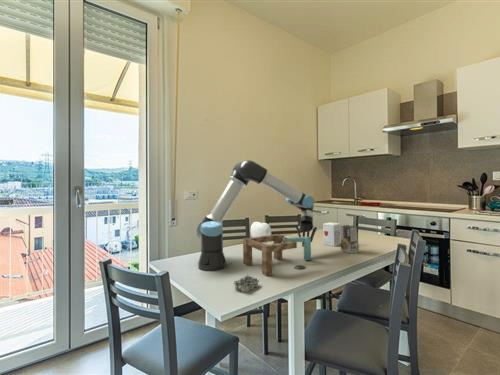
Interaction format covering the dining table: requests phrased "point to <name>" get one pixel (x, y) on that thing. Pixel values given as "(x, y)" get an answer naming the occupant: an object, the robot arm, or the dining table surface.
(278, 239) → the stool frame
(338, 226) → the supplement box
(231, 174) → the robot arm
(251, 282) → the grey knobbly lump
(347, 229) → the coffee box
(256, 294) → the dining table surface
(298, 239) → the folding leg
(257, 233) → the decorative heart
